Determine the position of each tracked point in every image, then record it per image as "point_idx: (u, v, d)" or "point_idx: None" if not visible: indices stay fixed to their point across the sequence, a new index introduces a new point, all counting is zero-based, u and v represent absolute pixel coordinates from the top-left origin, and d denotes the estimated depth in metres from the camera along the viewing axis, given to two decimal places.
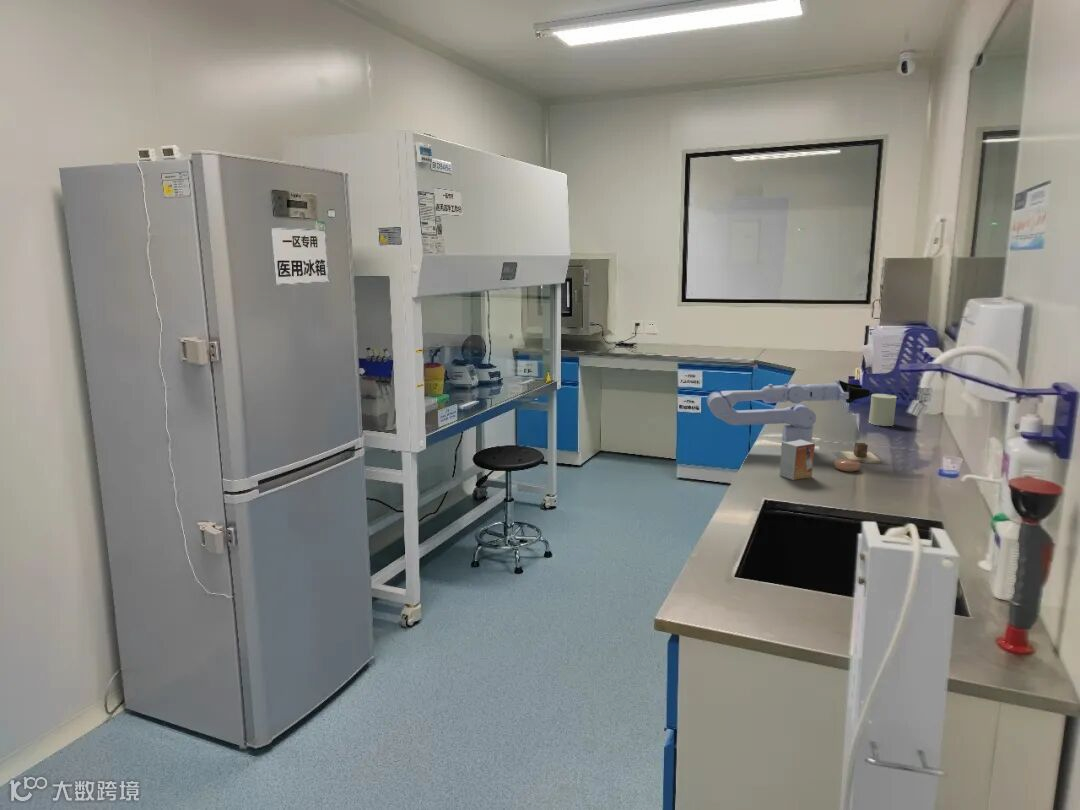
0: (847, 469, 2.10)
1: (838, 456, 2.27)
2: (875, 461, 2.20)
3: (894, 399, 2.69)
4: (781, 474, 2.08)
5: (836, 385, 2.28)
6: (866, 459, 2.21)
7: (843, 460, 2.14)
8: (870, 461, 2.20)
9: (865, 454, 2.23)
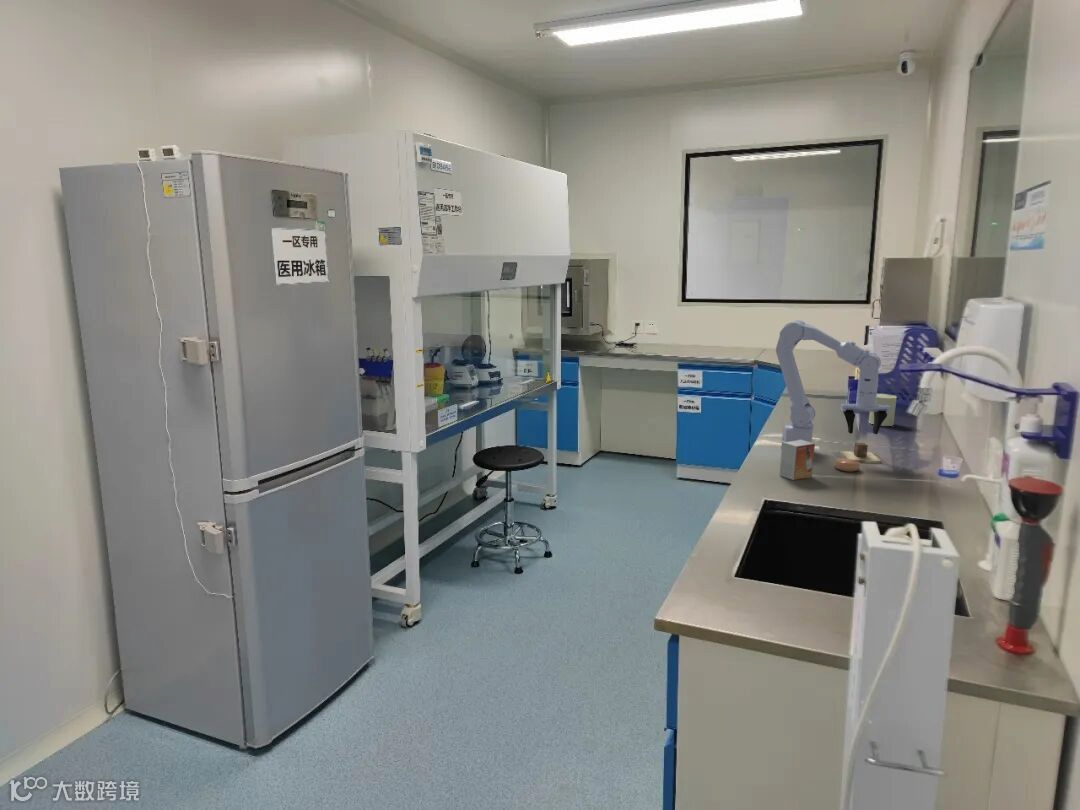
0: (847, 469, 2.10)
1: (838, 456, 2.27)
2: (875, 461, 2.20)
3: (894, 399, 2.69)
4: (781, 474, 2.08)
5: (863, 405, 2.19)
6: (866, 459, 2.21)
7: (843, 460, 2.14)
8: (870, 461, 2.20)
9: (865, 454, 2.23)
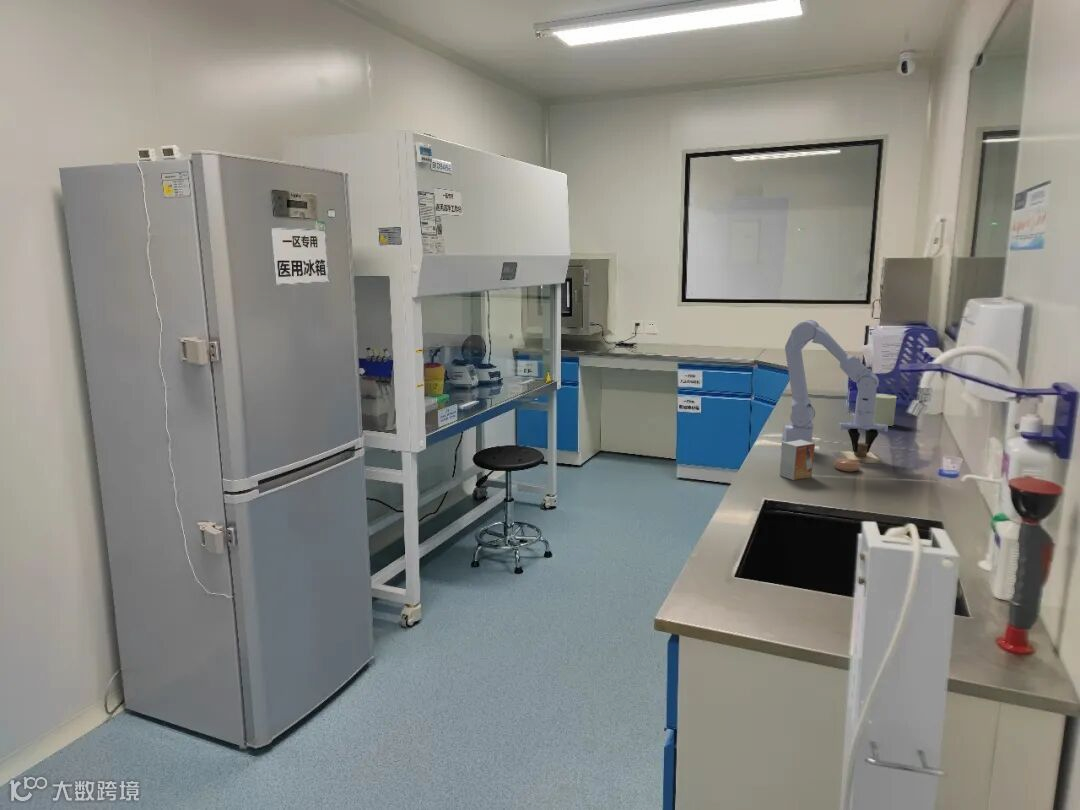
0: (847, 469, 2.10)
1: (838, 456, 2.27)
2: (875, 461, 2.20)
3: (894, 399, 2.69)
4: (781, 474, 2.08)
5: (861, 424, 2.21)
6: (866, 459, 2.21)
7: (843, 460, 2.14)
8: (870, 461, 2.20)
9: (865, 454, 2.23)
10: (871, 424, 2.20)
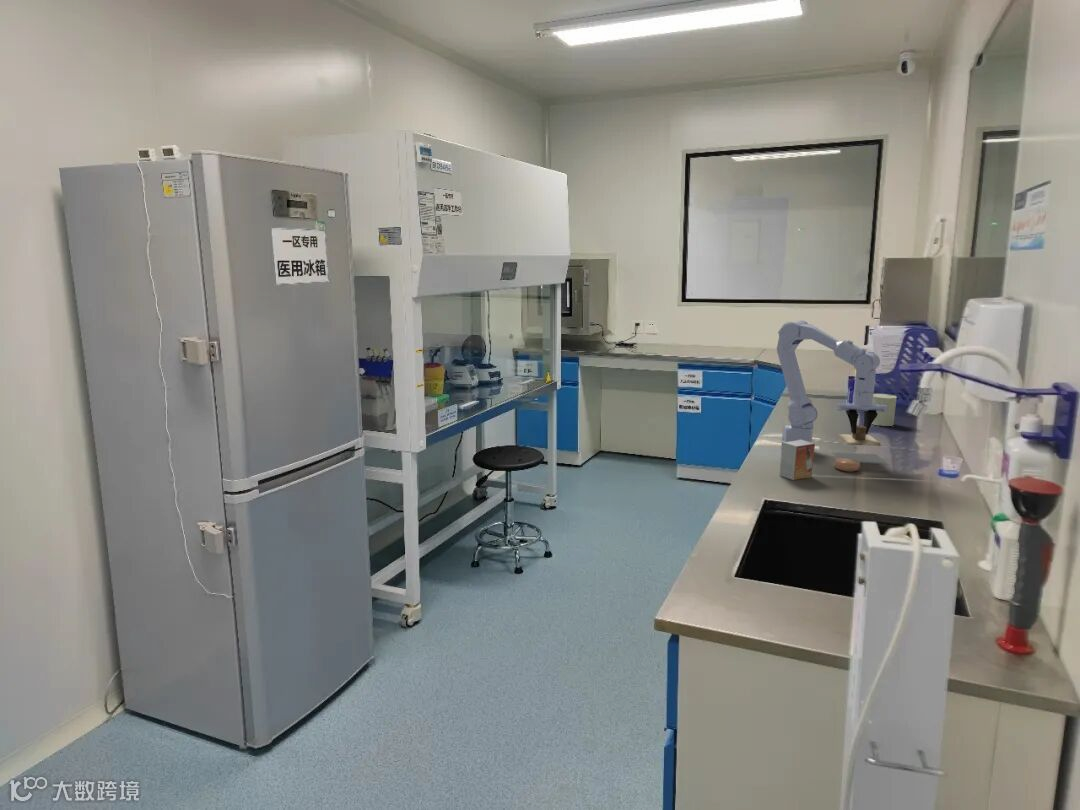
0: (847, 469, 2.10)
1: (838, 456, 2.27)
2: (874, 444, 2.15)
3: (894, 399, 2.69)
4: (781, 474, 2.08)
5: (860, 405, 2.16)
6: (865, 442, 2.16)
7: (843, 460, 2.14)
8: (869, 444, 2.15)
9: (864, 437, 2.19)
10: (870, 404, 2.15)
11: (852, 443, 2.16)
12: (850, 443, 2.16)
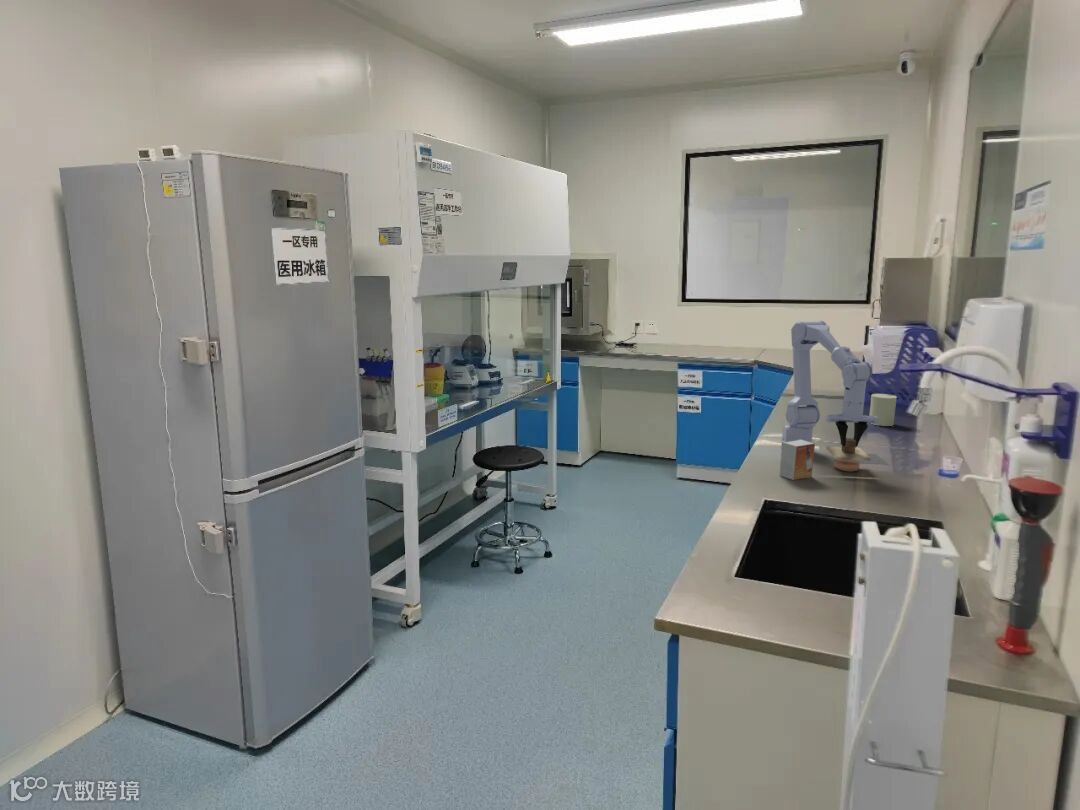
0: (847, 469, 2.10)
1: None
2: (863, 458, 2.08)
3: (894, 399, 2.69)
4: (781, 474, 2.08)
5: (849, 416, 2.08)
6: (854, 456, 2.09)
7: (843, 460, 2.14)
8: (858, 458, 2.08)
9: (853, 450, 2.11)
10: (860, 416, 2.07)
11: (841, 457, 2.08)
12: (838, 457, 2.09)
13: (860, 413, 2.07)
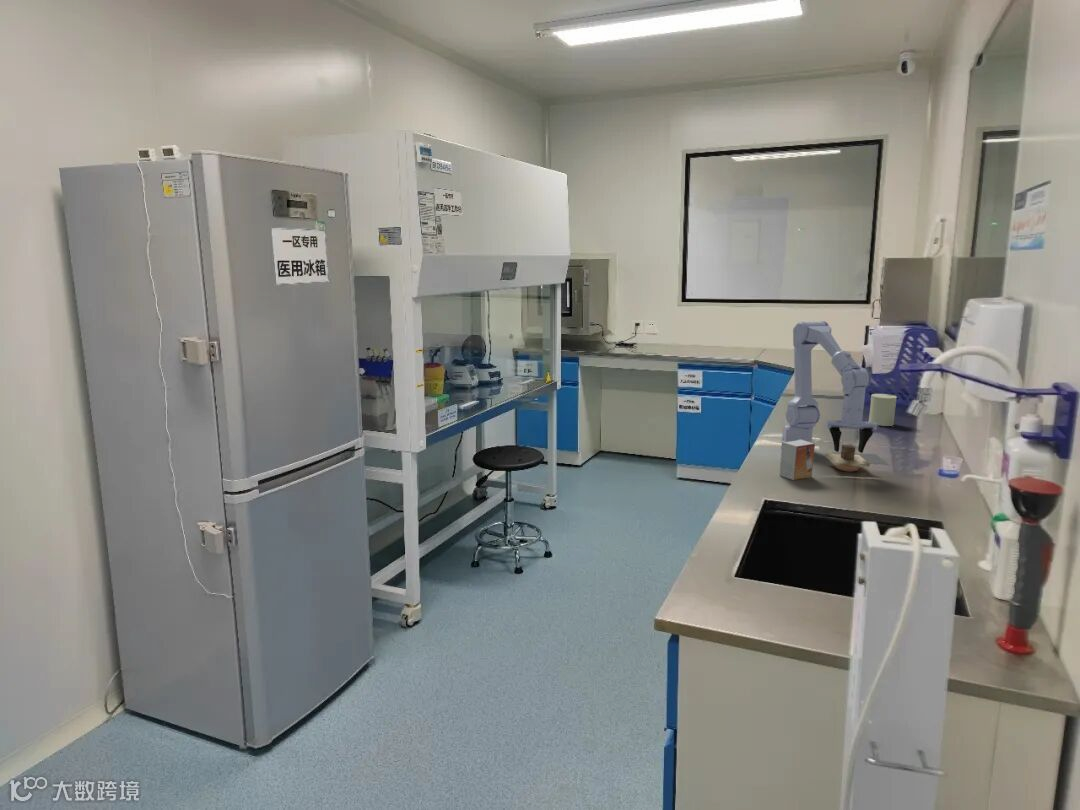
0: (847, 469, 2.10)
1: None
2: (863, 464, 2.08)
3: (894, 399, 2.69)
4: (781, 474, 2.08)
5: (848, 422, 2.08)
6: (853, 462, 2.09)
7: None
8: (857, 464, 2.08)
9: (852, 457, 2.11)
10: (859, 422, 2.08)
11: (840, 463, 2.09)
12: (838, 463, 2.09)
13: (859, 419, 2.08)
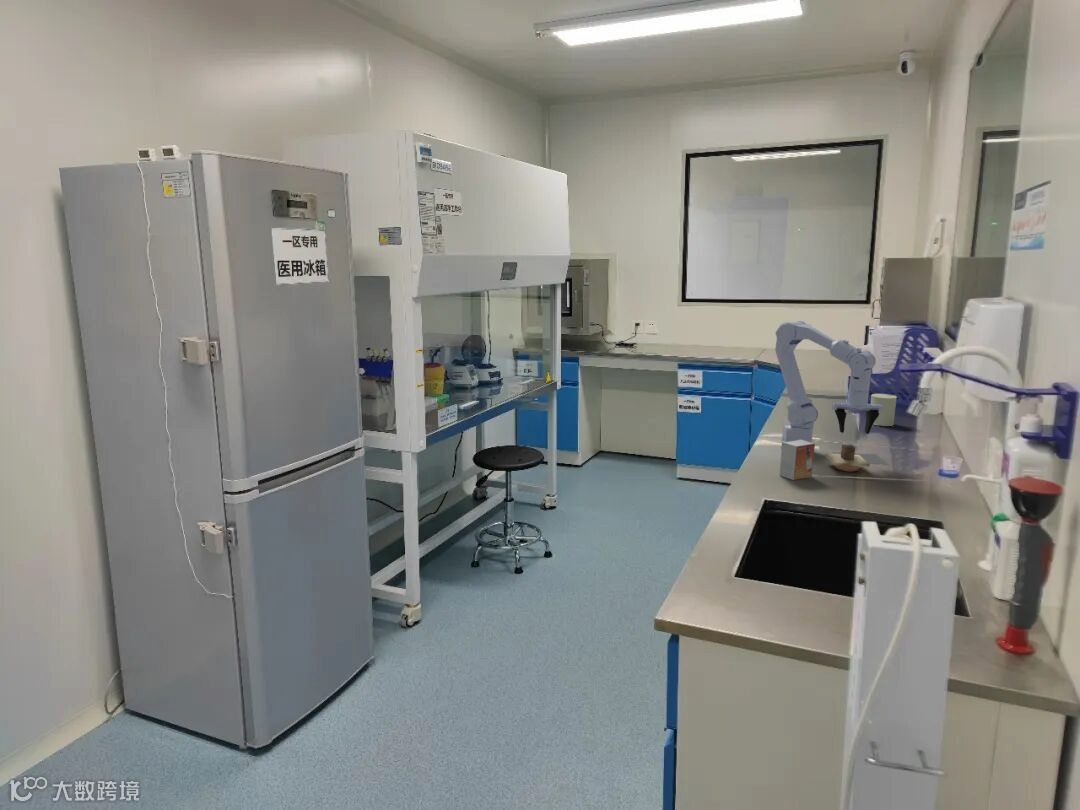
0: (847, 469, 2.10)
1: None
2: (863, 464, 2.08)
3: (894, 399, 2.69)
4: (781, 474, 2.08)
5: (854, 404, 2.16)
6: (853, 462, 2.09)
7: None
8: (857, 464, 2.08)
9: (852, 457, 2.11)
10: (865, 404, 2.15)
11: (840, 463, 2.09)
12: (838, 463, 2.09)
13: (865, 401, 2.15)
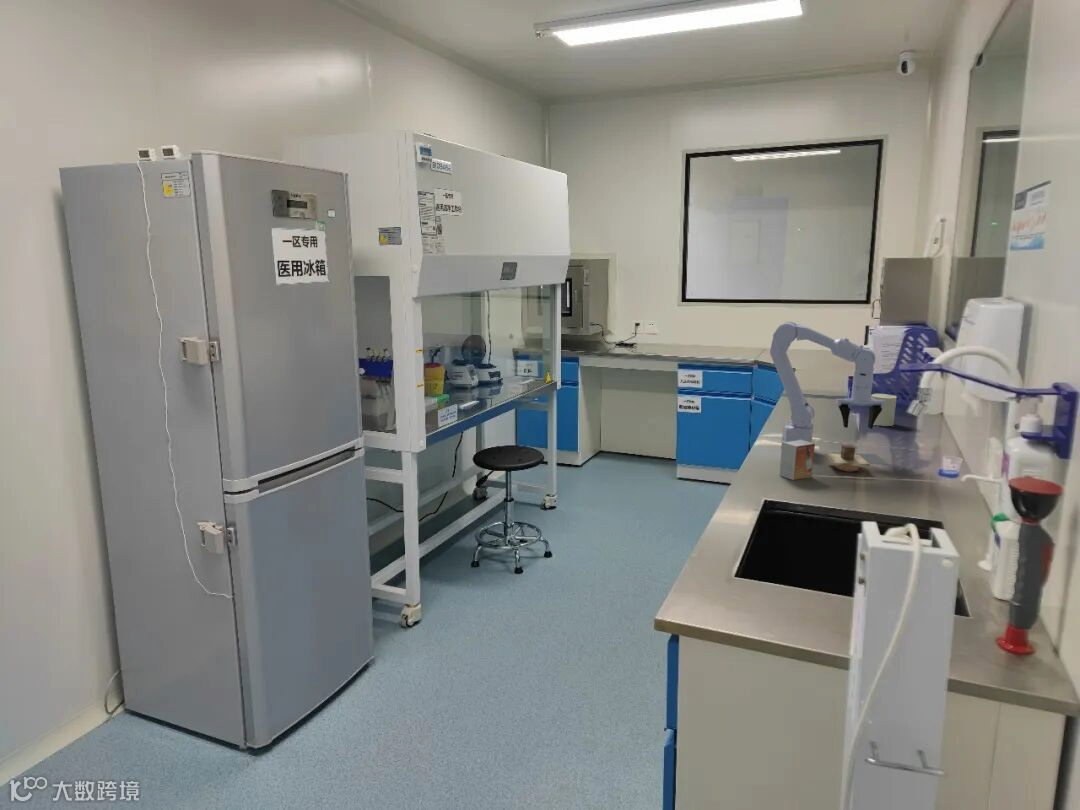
0: (847, 469, 2.10)
1: None
2: (863, 464, 2.08)
3: (894, 399, 2.69)
4: (781, 474, 2.08)
5: (858, 400, 2.21)
6: (853, 462, 2.09)
7: None
8: (857, 464, 2.08)
9: (852, 457, 2.11)
10: (868, 399, 2.21)
11: (840, 463, 2.09)
12: (838, 463, 2.09)
13: (868, 397, 2.21)
